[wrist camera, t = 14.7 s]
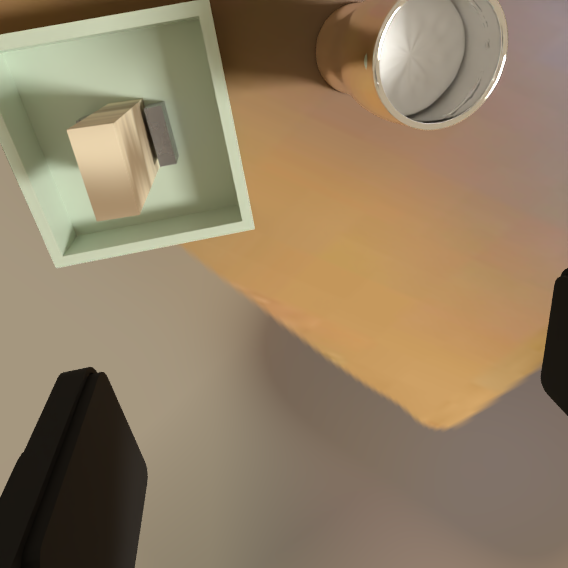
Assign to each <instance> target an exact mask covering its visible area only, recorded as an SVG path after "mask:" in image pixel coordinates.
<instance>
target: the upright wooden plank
mask: <svg viewBox="0 0 568 568" xmlns="http://www.w3.org/2000/svg"><path fill="white" fill-rule="evenodd" d="M144 108H145V106H144V102H143V98H142V99H135V100H127V101H120V102H113V103H108V104H107V105H105V106H104V107H102V108H100V109H99V110H97V111H96V112H94V113H92V114H91V115H89V116H88V117H86V118H84V119H83V120H81V121H80V122H78V123H76V124H75V125H73V126H72V127H70V128H68V129H67V133H68V136H69V139H70V142H71V145H72V148H73V151H74V154H75V157H76V160H77V163H78V166H79V170H80V173H81V176H82V179H83V182H84V185H85V188H86V191H87V194H88V197H89V200H90V203H91V206H92V209H93V212H94V215H95V218H96V221H104V220H110V219H117V218H123V217H130V216H136V215H140V213H141V211H142V208H143V206H144V203H145V201H146V199H147V196H148V194H149V191H150V189H151V187H152V184H153V182H154V179H155V177H156V175H157V172H158V170H159V163H158V159H157V155H156V151H155V147H154V144H153V140H152V137H151V133H150V130H149V126H148V123H147V119H146V116H145V112H144Z"/></svg>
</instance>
